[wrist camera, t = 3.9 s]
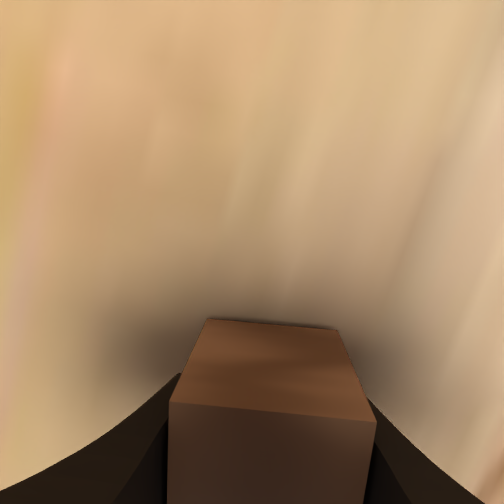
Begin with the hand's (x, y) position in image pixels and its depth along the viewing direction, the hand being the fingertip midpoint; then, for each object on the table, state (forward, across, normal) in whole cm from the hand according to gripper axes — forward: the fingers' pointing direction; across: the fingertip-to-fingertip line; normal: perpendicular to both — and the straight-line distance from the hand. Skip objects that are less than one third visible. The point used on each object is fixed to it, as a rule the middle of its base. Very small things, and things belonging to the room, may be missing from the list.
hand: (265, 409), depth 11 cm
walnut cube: (+1, 0, 0) cm, 1 cm away
